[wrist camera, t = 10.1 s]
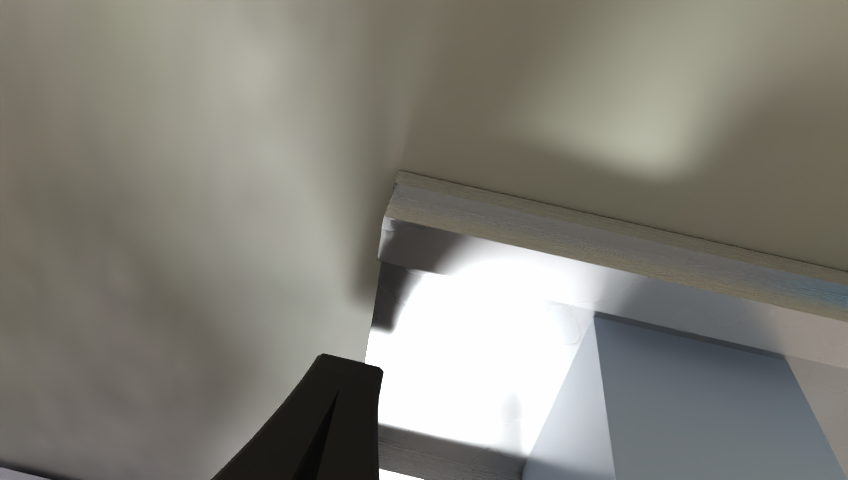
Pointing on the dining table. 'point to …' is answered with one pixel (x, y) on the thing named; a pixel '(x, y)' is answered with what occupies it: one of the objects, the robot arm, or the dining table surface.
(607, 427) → the block
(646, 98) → the dining table surface
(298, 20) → the dining table surface
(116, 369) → the dining table surface
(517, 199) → the rail bed
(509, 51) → the dining table surface
